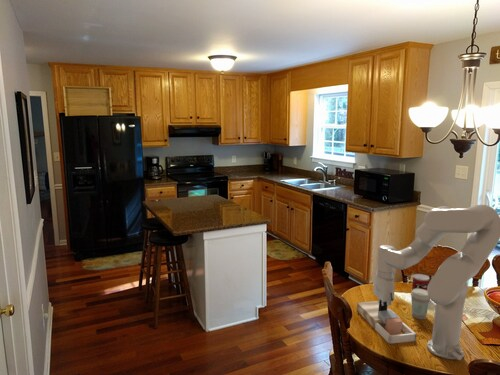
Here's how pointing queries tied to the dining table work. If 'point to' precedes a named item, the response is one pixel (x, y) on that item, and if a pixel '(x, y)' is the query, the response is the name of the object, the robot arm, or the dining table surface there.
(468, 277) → the robot arm
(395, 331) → the tile terracotta
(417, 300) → the coffee cup
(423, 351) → the dining table surface
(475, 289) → the dining table surface
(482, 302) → the dining table surface
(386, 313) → the tile slate
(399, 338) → the box
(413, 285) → the canned food
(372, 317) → the birch plate
